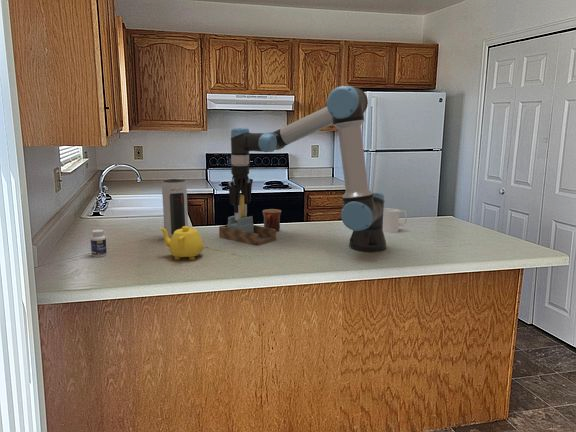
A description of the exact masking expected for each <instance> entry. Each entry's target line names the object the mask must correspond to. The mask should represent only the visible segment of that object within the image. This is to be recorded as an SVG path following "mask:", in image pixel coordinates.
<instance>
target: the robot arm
mask: <svg viewBox="0 0 576 432" xmlns="http://www.w3.org/2000/svg"><path fill="white" fill-rule="evenodd" d="M368 99H369V98H368V96H367V95H366V93H365V91H364V90H362V89H361V88H358V87H355V86H352V85H351V86H350V85H340V86H337V87H336V88H333V90H331V92H330V93H329V95H328V97H327V99H326V106H324V107H322V108H321V109H318V110H316V111H315V112H313V113H310V114H309V115H306V116H304V117H302V118H299V119H297V120H295V121H293V122H291V123H290V124H289V123H288V124H287V125H285V126H283V127H281V128H280V129H276V130H274V131H272V132H250V129H249V128H248V127H232V129H231V130H230V150H231V153H230V155H231V156H230V157H231V158H230V160H231V161H230V162H231V163H230V164H231V170H230V171H231V174H232V178H231V180H230V181H227V185H228V195H229V197H228V198H229V204H230V205H233V213H234V216H235V220H238V219H240V218H241V211H240V205H239V199H240V195H244V218H245V217H248V215H247V214H248V205H249V204H250V202H252V187H253V181H254V180H253V179H252V178H249V174H250V166H249V165H250V152H259V153H260V152H261V153H262V152H263V153H272V152H274V151H279V150H281V149H284V148H285V147H286V146H288V145H290V144H292V143H294V142H297V141H299V140H301V139H303V138H306V137H308V136H310V135H312V134H314V133H317V132H319V131H321V130H324V129H325V128H328V127H330V126H333V127H335V128H336V129H337V133H338V140H339V147H340V156H341V164H342V165H341V166H342V171H343V172H342V174H343V182H344V186H345V192H344V194H342V204H343V205H342V206H343V207H342V209H341V212H340V217H341V221H342V224H343V225H344V226H345V227H346V228H348V229H349V230H350V231H352V233H351V235H350V239H349V240H348V241H349V244H348V246H349V248H350V249H353V250H355V251H361V252H372V253H373V252H380V251H384V250H386V249H387V241H386V238H385V234H384V233H385V232H383V212H384V209H385V195H384V194H383V193H381V192H372V191H371V190H370V189H369V183H368V177H367V176H368V175H367V169H366V168H367V167H366V160H365V151H364V142H363V134H362V125H363V123H364V122H365V118H364V113H366V110H367V109H368V105H369V100H368Z"/></svg>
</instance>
